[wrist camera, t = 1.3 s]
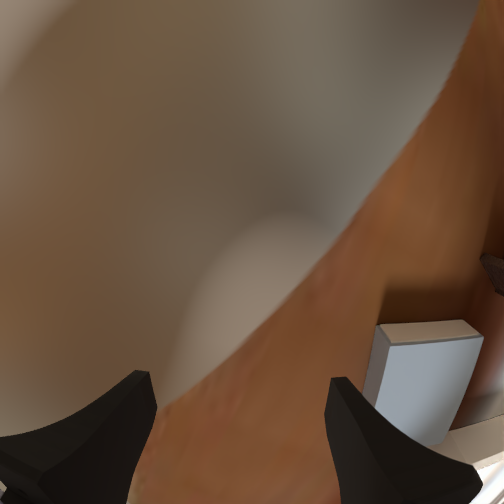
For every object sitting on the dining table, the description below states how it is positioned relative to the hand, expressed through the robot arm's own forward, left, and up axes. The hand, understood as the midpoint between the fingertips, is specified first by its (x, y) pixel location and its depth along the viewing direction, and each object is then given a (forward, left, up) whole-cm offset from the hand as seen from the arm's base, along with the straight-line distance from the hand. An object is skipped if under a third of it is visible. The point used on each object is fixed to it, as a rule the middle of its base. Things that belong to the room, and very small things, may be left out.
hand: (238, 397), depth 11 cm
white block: (-9, -14, -13) cm, 21 cm away
